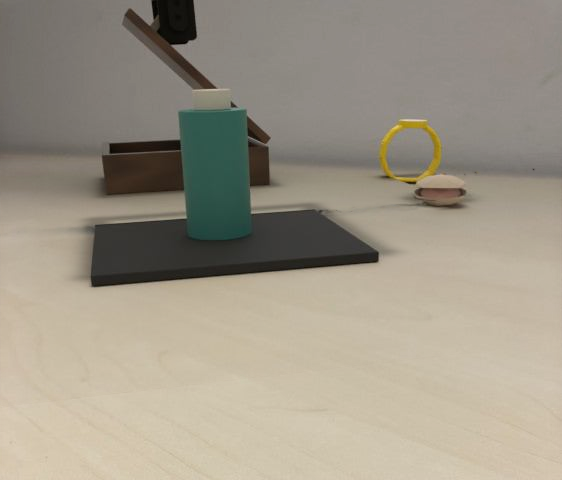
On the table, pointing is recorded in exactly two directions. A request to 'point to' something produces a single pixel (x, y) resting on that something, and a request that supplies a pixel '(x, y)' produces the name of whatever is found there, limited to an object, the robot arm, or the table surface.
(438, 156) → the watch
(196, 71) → the lid
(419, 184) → the macaroon
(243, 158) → the bottle
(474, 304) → the table surface
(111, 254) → the mat
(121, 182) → the brown wooden tray
